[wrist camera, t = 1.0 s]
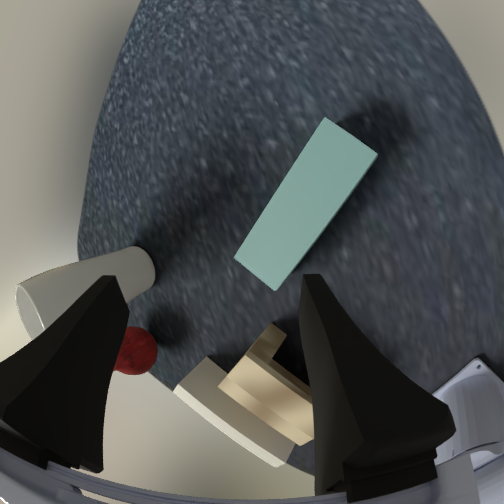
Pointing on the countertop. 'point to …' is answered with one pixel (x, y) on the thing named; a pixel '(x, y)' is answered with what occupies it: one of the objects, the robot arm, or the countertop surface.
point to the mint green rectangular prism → (305, 203)
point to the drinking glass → (80, 285)
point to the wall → (231, 414)
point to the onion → (136, 352)
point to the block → (271, 389)
